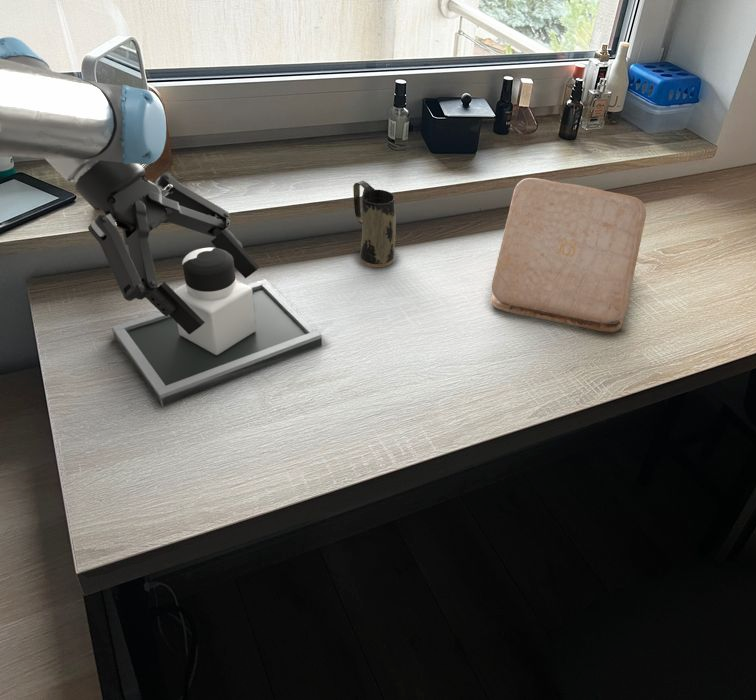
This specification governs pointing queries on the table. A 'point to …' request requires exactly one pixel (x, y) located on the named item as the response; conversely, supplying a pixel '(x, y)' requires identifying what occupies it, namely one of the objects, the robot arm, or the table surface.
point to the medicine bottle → (216, 300)
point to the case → (568, 254)
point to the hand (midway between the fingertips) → (226, 299)
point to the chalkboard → (204, 369)
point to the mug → (376, 225)
